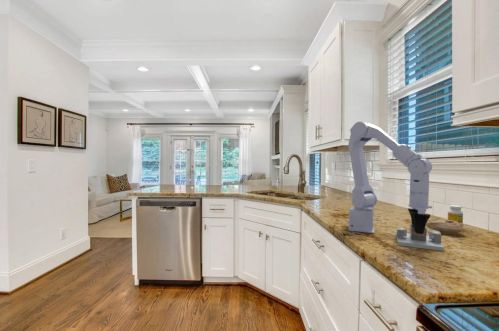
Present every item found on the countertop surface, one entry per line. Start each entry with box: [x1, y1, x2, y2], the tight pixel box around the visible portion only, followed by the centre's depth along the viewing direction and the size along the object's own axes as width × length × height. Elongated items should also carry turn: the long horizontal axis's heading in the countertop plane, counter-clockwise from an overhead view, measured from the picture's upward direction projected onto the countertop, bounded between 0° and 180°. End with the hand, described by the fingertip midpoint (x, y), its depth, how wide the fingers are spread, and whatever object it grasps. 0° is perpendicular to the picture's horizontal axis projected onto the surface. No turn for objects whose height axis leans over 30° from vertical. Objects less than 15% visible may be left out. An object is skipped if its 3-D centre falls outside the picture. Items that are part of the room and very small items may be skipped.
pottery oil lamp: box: [425, 219, 465, 235], centre depth 111 cm, size 9×12×7 cm
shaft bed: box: [395, 226, 445, 252], centre depth 97 cm, size 13×14×4 cm
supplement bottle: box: [447, 204, 464, 225], centre depth 120 cm, size 5×5×10 cm
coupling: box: [409, 223, 428, 241], centre depth 97 cm, size 5×5×4 cm
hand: (417, 230), depth 97 cm, fingers open, 7 cm apart
